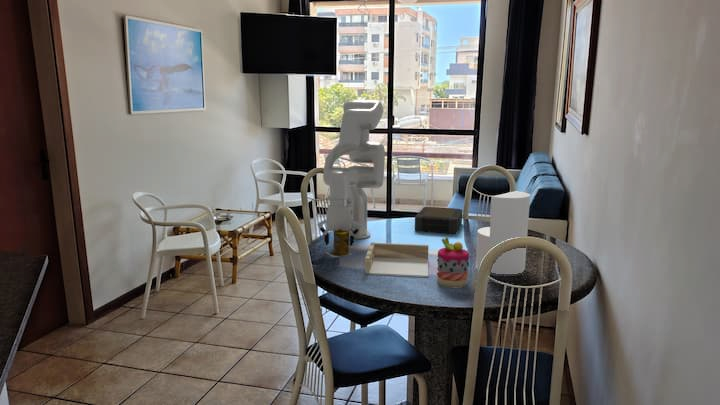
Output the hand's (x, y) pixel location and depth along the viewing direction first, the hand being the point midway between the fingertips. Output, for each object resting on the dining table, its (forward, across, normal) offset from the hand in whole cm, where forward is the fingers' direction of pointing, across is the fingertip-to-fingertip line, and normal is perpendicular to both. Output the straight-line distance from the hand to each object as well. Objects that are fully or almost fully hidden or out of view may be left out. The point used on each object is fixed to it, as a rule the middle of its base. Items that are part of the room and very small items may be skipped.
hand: (339, 244), depth 204 cm
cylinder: (+4, -61, +10) cm, 62 cm away
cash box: (+4, -41, -51) cm, 66 cm away
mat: (+4, -24, +13) cm, 28 cm away
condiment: (+4, 0, 0) cm, 4 cm away
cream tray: (+4, -24, +13) cm, 28 cm away
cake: (+4, -43, +27) cm, 51 cm away
